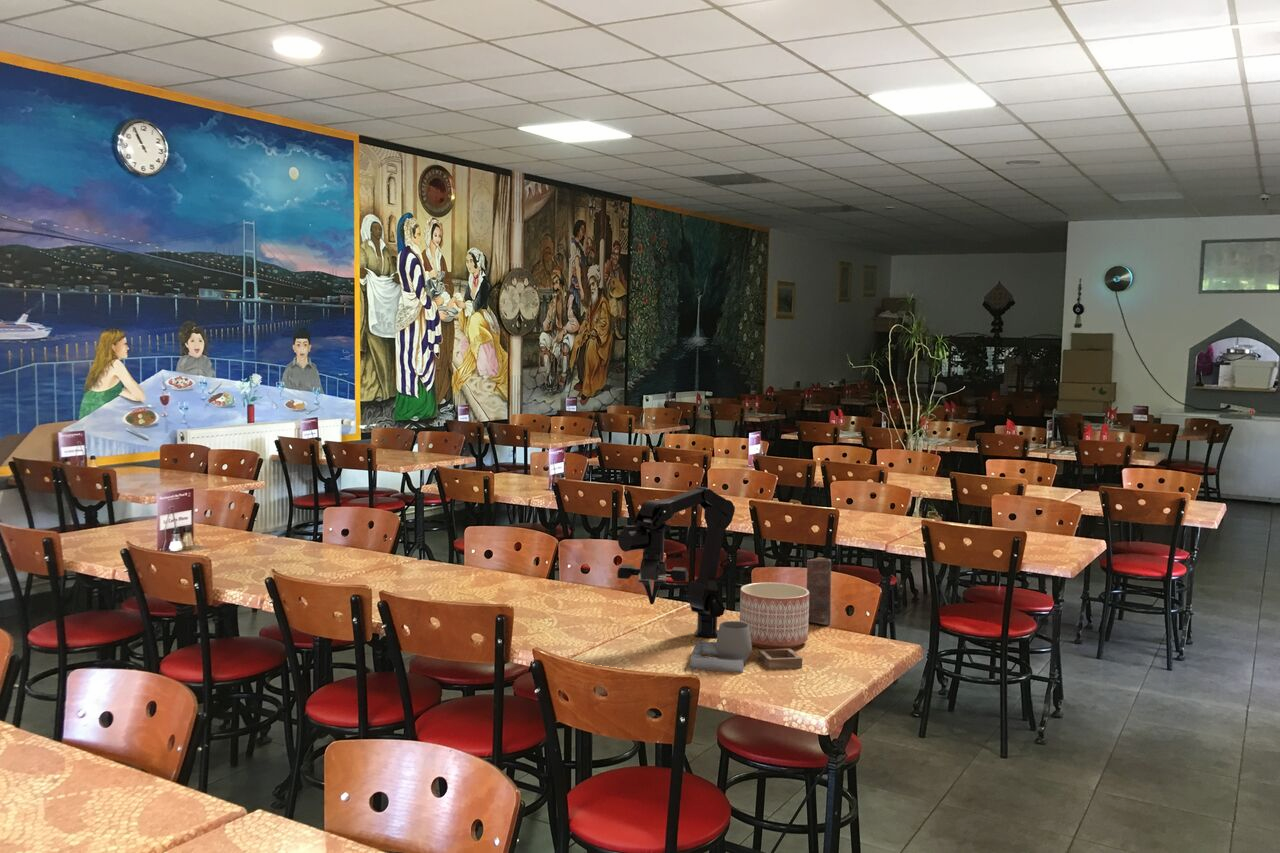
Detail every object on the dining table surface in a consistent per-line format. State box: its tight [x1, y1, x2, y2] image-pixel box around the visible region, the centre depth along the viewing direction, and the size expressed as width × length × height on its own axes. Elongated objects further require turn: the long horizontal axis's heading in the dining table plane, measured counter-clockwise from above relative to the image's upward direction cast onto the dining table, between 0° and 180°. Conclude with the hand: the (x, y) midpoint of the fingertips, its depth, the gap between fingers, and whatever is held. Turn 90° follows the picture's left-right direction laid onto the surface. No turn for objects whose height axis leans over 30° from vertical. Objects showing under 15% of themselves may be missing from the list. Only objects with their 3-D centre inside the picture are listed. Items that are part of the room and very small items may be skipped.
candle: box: [806, 556, 832, 626], centre depth 300 cm, size 8×7×20 cm
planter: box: [739, 582, 809, 649], centre depth 280 cm, size 19×19×15 cm
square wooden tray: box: [757, 648, 803, 670], centre depth 260 cm, size 9×9×2 cm
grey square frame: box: [689, 640, 745, 673], centre depth 260 cm, size 14×15×3 cm
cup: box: [715, 620, 753, 664], centre depth 260 cm, size 10×9×10 cm
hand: (652, 604), depth 272 cm, fingers closed
